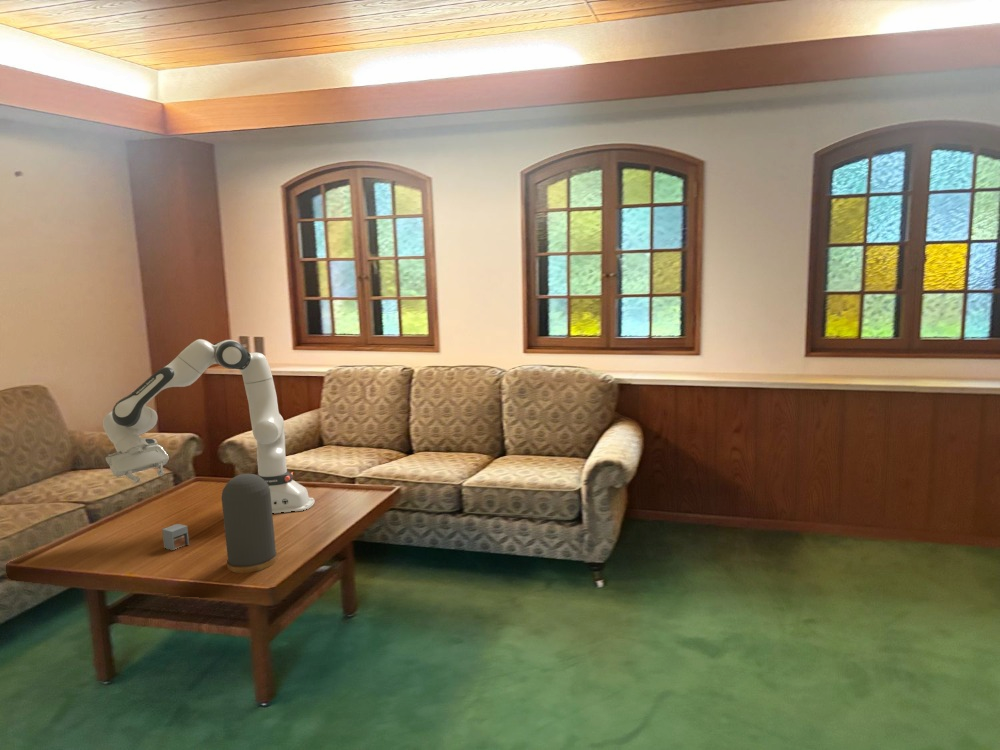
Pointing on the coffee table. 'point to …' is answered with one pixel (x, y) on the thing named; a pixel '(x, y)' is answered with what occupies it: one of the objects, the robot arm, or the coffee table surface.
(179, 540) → the letter cube
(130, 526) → the coffee table surface
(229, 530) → the decorative piece
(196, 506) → the coffee table surface
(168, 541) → the slate cover
